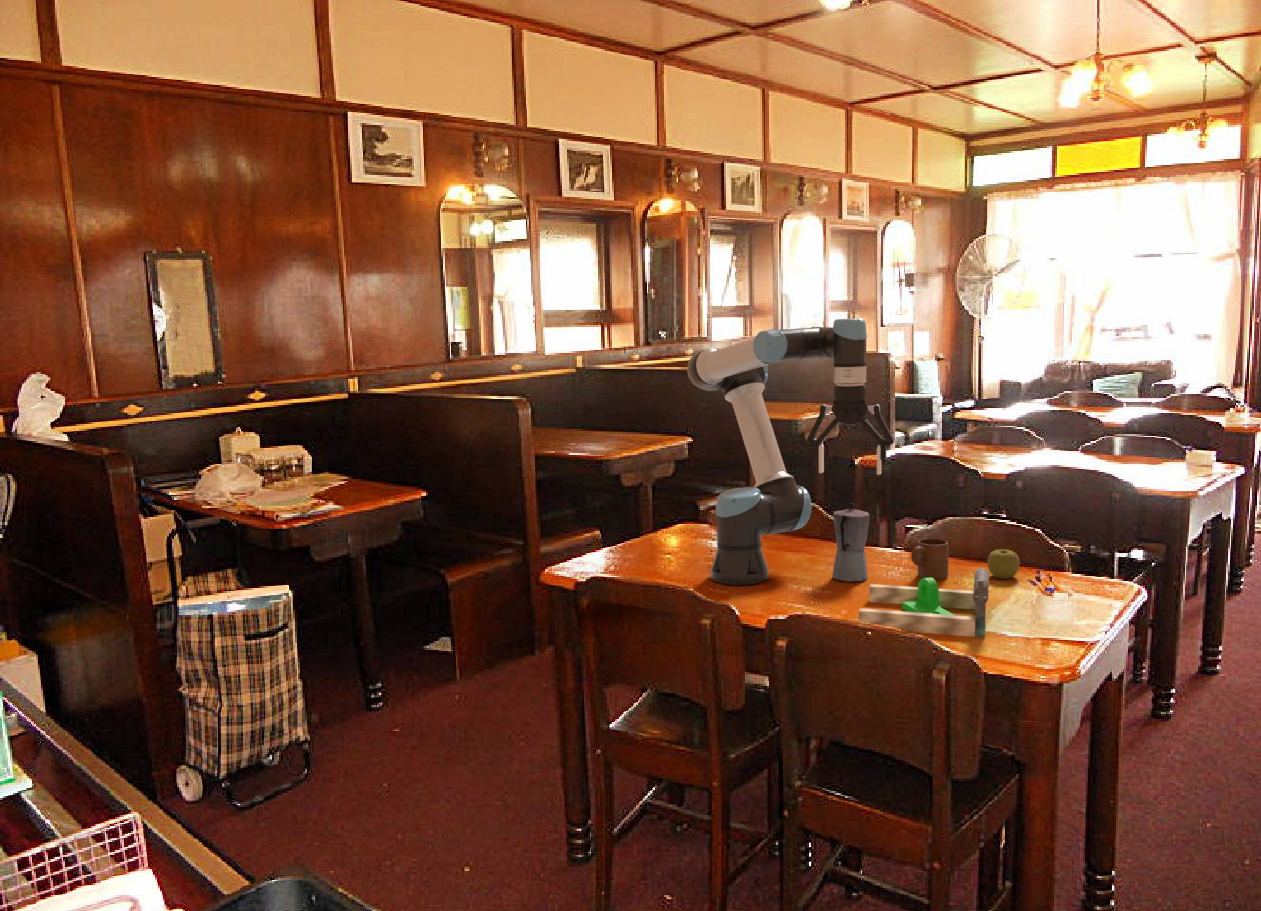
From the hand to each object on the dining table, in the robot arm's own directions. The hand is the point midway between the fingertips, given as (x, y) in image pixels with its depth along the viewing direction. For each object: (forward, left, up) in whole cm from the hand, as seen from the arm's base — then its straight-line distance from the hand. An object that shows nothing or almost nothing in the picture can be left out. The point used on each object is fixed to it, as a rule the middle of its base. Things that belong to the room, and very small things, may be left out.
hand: (849, 473), depth 223 cm
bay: (+17, -12, -31) cm, 37 cm away
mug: (+17, +20, -31) cm, 41 cm away
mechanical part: (+19, -10, -31) cm, 38 cm away
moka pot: (-2, +15, -31) cm, 34 cm away
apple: (+35, +25, -31) cm, 53 cm away
